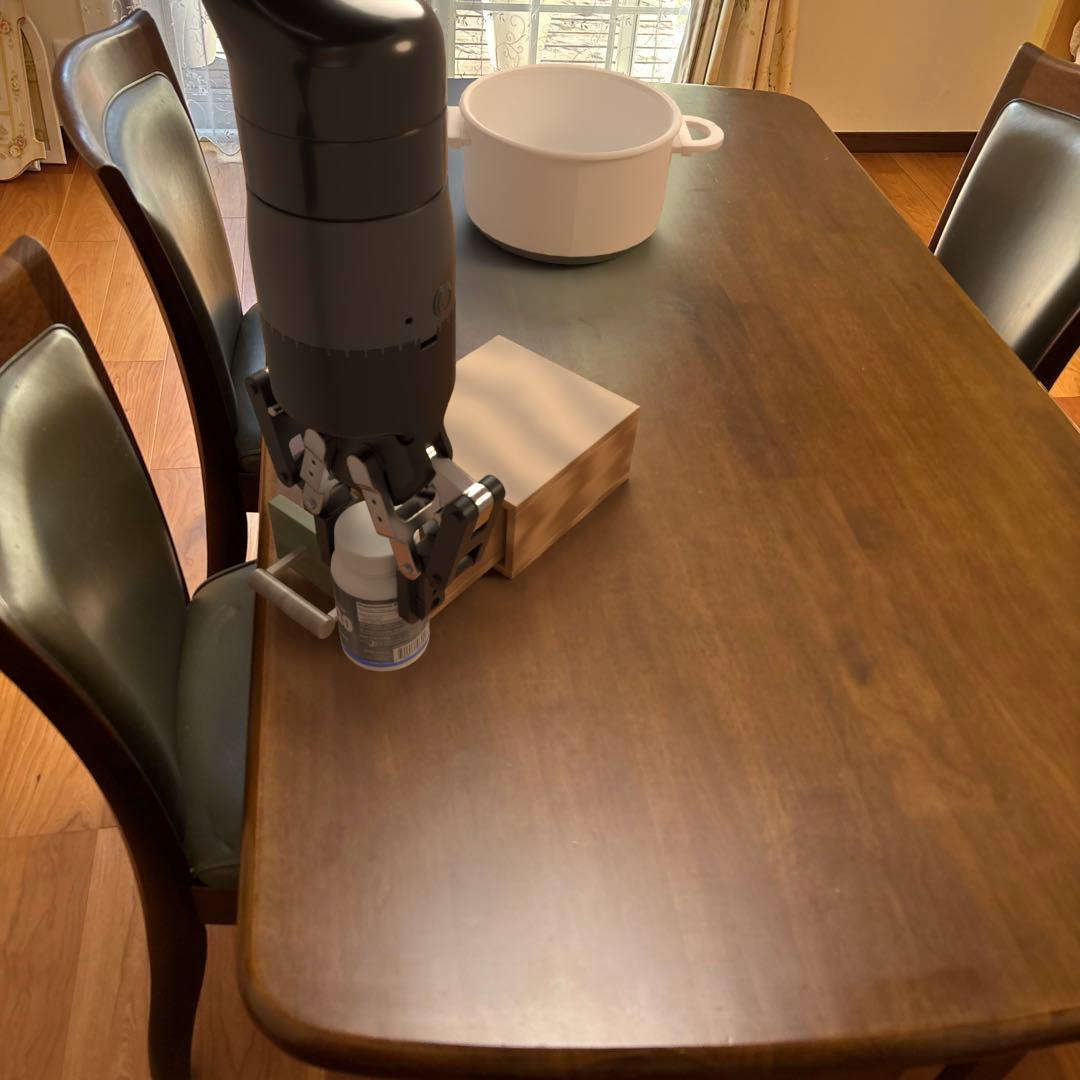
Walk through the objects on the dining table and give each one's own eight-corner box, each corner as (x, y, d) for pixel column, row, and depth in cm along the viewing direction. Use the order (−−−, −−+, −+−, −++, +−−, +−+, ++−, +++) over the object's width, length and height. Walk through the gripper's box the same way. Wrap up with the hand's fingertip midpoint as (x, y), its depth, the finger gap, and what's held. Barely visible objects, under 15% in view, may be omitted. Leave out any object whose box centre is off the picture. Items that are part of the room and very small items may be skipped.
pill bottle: (339, 609, 55) (323, 496, 49) (426, 601, 56) (421, 488, 50) (342, 679, 52) (326, 567, 46) (434, 669, 53) (431, 558, 47)
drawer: (357, 696, 68) (351, 640, 64) (223, 596, 73) (210, 538, 69) (538, 540, 79) (543, 484, 75) (411, 463, 84) (409, 407, 80)
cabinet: (511, 580, 77) (516, 507, 72) (372, 492, 83) (367, 418, 78) (629, 478, 86) (640, 406, 81) (496, 405, 92) (498, 333, 87)
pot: (688, 182, 125) (708, 68, 116) (723, 284, 109) (750, 160, 99) (416, 174, 123) (413, 55, 113) (411, 277, 106) (407, 149, 97)
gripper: (157, 254, 40) (227, 556, 52) (426, 412, 34) (435, 710, 46) (303, 189, 44) (337, 482, 56) (565, 319, 38) (539, 614, 50)
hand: (381, 583), depth 51 cm, fingers closed on pill bottle, 4 cm apart
